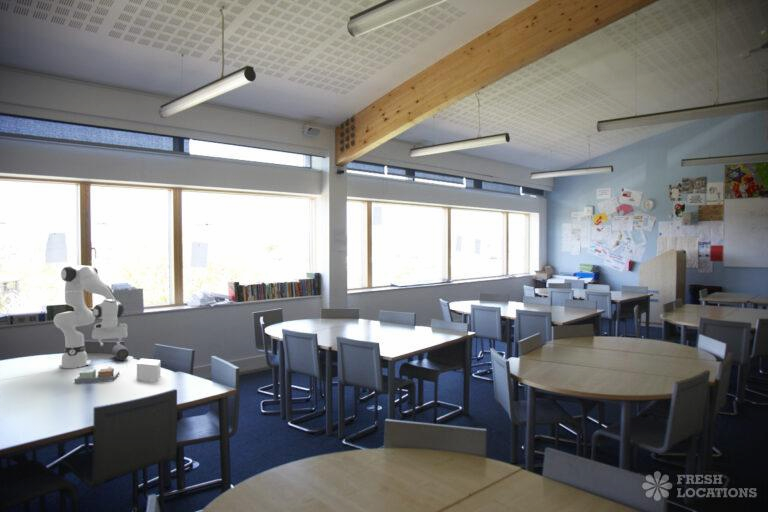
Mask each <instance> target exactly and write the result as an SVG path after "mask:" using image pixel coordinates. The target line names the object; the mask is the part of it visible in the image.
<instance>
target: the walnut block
mask: <svg viewBox="0 0 768 512" xmlns="http://www.w3.org/2000/svg"><path fill="white" fill-rule="evenodd" d="M97 375H98V377H111V376H114V375H115V373H114V368H112V367H111V366H108V367H107V368H101V369H99V371H98V372H97Z"/></svg>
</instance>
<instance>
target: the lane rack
mask: <svg viewBox="0 0 768 512" xmlns="http://www.w3.org/2000/svg"><path fill="white" fill-rule="evenodd" d="M118 375H119V376H120V371H117V372H116V373H114V376H111V377H98V374H97V375H96V377H95V378H81V379H80V375H79V376H78V377H76V378H75V379H74V384H84V383H83V382H87V383H97V382H98V381H102V382H110V381H109V380H116V379H118V378H119V376H118ZM98 383H99V382H98Z"/></svg>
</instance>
